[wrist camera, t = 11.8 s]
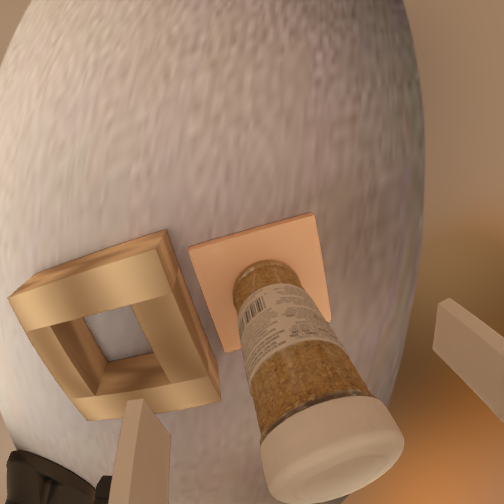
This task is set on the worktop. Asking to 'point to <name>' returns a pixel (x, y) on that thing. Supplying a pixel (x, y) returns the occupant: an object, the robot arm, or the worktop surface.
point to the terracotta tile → (250, 253)
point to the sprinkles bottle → (307, 394)
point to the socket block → (148, 315)
